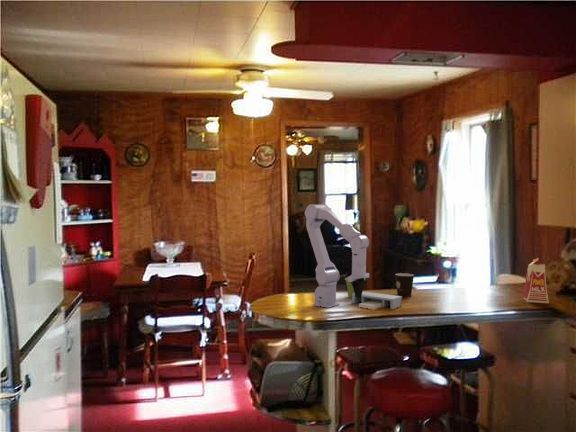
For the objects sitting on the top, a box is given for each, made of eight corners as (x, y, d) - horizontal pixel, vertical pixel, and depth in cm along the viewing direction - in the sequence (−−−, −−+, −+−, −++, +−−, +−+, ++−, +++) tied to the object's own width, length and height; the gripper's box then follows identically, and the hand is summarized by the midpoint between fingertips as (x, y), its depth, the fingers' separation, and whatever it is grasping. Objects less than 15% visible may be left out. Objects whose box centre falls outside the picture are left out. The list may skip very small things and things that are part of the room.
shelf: (393, 309, 240) (393, 299, 240) (352, 303, 252) (352, 293, 252) (401, 306, 247) (401, 296, 246) (361, 300, 259) (361, 291, 259)
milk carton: (548, 303, 256) (550, 258, 255) (526, 302, 258) (528, 258, 257) (543, 299, 265) (545, 256, 264) (522, 298, 266) (523, 255, 266)
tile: (372, 310, 239) (372, 306, 239) (358, 308, 244) (358, 303, 244) (387, 306, 248) (387, 301, 248) (373, 304, 253) (373, 299, 253)
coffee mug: (415, 297, 267) (415, 276, 266) (396, 297, 267) (397, 275, 266) (410, 293, 278) (410, 272, 278) (392, 292, 279) (392, 272, 278)
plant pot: (358, 300, 259) (358, 281, 259) (340, 297, 265) (341, 279, 265) (368, 297, 267) (369, 278, 266) (351, 294, 272) (351, 276, 272)
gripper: (358, 267, 228) (357, 300, 229) (376, 263, 240) (375, 295, 240) (343, 265, 232) (342, 298, 233) (361, 262, 244) (360, 293, 245)
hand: (358, 297), depth 237 cm, fingers closed
